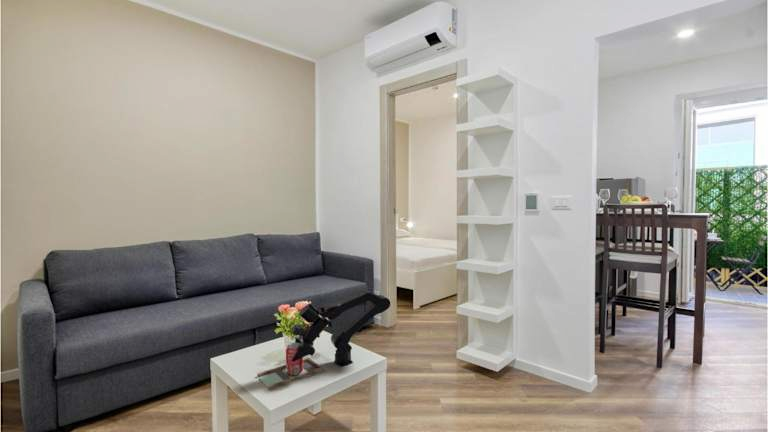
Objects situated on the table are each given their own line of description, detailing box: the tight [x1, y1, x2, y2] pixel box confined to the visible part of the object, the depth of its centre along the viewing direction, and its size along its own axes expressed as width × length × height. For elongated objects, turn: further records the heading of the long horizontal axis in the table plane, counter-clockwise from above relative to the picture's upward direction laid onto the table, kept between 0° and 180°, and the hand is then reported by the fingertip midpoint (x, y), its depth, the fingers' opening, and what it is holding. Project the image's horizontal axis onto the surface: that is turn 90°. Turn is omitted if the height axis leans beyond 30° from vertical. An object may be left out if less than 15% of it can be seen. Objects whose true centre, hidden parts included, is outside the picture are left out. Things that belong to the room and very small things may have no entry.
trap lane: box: [256, 357, 324, 390], centre depth 157 cm, size 24×14×1 cm, turn 129°
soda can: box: [285, 342, 304, 376], centre depth 158 cm, size 7×7×12 cm
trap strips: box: [274, 362, 317, 380], centre depth 159 cm, size 16×10×1 cm, turn 129°
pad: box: [258, 372, 284, 388], centre depth 152 cm, size 7×10×1 cm
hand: (291, 357), depth 158 cm, fingers closed on soda can, 6 cm apart
